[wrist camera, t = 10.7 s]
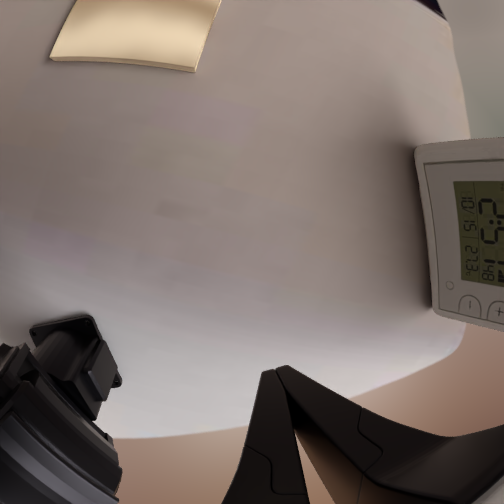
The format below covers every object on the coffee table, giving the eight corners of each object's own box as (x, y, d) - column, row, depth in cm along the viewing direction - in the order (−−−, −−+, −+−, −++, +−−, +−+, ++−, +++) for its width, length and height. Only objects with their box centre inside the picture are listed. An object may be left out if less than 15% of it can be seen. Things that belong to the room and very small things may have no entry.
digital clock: (404, 137, 20) (510, 128, 10) (467, 143, 22) (555, 145, 11) (404, 320, 24) (482, 379, 14) (463, 298, 26) (534, 337, 16)
